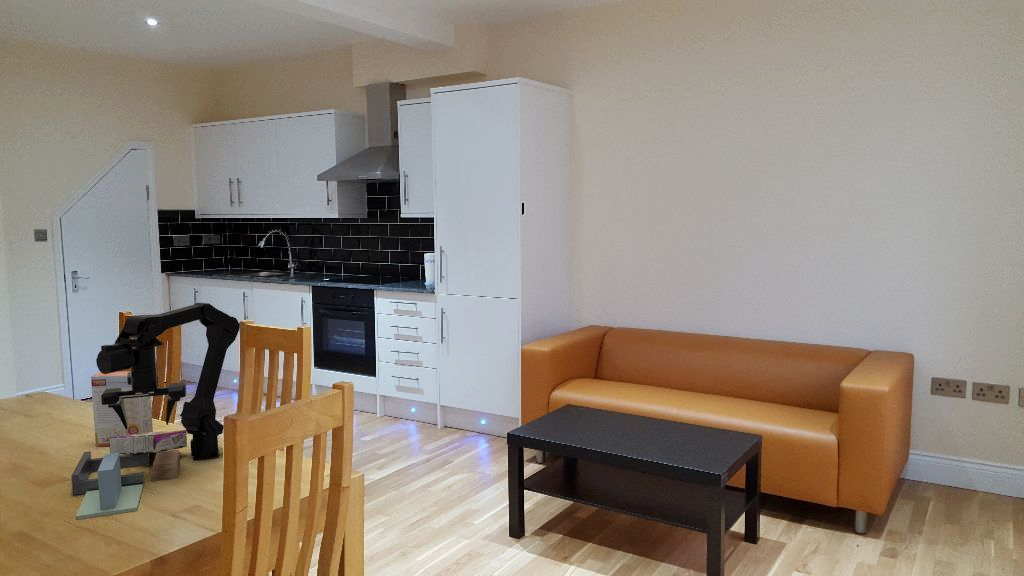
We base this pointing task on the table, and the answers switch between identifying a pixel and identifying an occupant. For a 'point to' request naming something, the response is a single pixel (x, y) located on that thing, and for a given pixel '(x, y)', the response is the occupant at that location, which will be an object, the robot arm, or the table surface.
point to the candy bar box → (148, 442)
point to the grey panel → (109, 481)
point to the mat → (125, 504)
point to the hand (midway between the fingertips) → (147, 426)
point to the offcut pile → (165, 465)
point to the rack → (91, 465)
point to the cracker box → (108, 419)
